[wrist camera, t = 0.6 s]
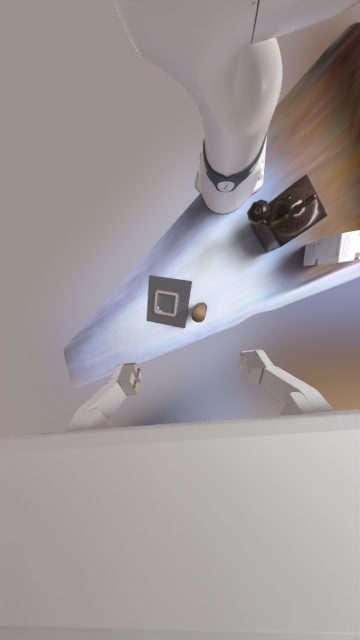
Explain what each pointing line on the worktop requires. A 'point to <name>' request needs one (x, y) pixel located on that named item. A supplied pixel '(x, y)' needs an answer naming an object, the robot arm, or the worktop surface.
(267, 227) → the manual coffee grinder
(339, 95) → the worktop surface
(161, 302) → the plate
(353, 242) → the skincare box
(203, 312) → the walnut peg
